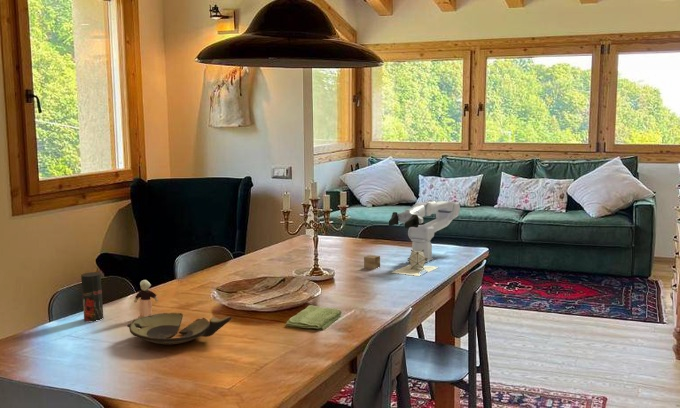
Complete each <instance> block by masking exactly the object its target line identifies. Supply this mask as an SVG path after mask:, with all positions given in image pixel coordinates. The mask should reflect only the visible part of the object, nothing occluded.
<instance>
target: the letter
mask: <svg viewBox="0 0 680 408" xmlns="http://www.w3.org/2000/svg"><path fill="white" fill-rule="evenodd" d="M425 267H426V268H425ZM411 268H412V266H411V264H410V263H409V264H408V265H405V266H403V267H401V268H398V269H396V270H394V271H391V273H392V274H398V273H399V275H405V274H406V275H407V276H413V275H414V276H416V277H421V276H422V275H421V274H420V273H421V272H422V271H425V270H426V271H428V273H430V272H432V271H434V270H436V269H438V268H439V267H438V266H432V265H424V266H423V268H424V269H422V268H412V269H411ZM420 271H421V272H420ZM419 272H420V273H419ZM418 273H419V274H418ZM420 275H421V276H420Z"/></svg>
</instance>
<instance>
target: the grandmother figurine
mask: <svg viewBox="0 0 680 408" xmlns="http://www.w3.org/2000/svg"><path fill="white" fill-rule="evenodd" d="M139 285H140V289H141V290H139V292H137V293H136V295H135V297H134V300H133V302H134V303H135V304H136V303H137V302H138V301H139V315H138V317H137V319H138V318H139V319H140V318H143V317H147V316H151V315H153V314H152V313H153V312H152V311H153V309H152V306H153V305H152V299H154V301H155V302H158V301H159V299H158V296H157V294H156V293H155V292H153V291H152V290H149V289H150V287H151V286H152V284H151V283H150V282H149V281H148V280H147V279H143V280H141V281H140V282H139ZM139 299H140V300H139Z"/></svg>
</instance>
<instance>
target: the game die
mask: <svg viewBox="0 0 680 408" xmlns="http://www.w3.org/2000/svg"><path fill="white" fill-rule="evenodd" d="M410 251H411V253H410V254H409V257H408V258H407V261H408V262H409V265H410V264H411V266H412V268H423V266H425V261H427V260H426V259H428V258H426V257H425V255H424V253H423V251H424V250H422V251H412V249H410ZM412 268H411V269H412ZM423 269H424V268H423Z"/></svg>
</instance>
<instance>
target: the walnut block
mask: <svg viewBox="0 0 680 408" xmlns="http://www.w3.org/2000/svg"><path fill="white" fill-rule="evenodd" d="M378 267H379V268H381V255H374V254H369V255H366V256H363V268H364V269H366V270H377V269H379V268H378ZM376 268H377V269H376Z"/></svg>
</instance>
